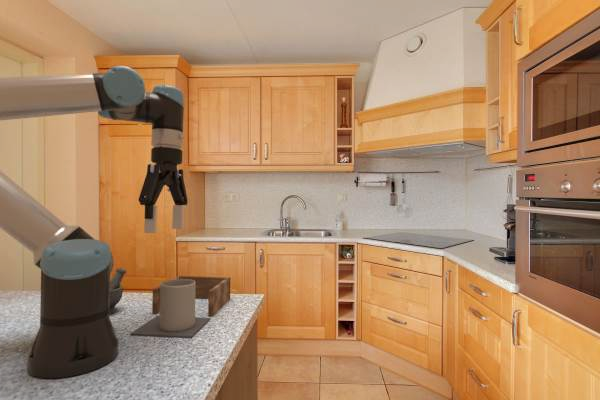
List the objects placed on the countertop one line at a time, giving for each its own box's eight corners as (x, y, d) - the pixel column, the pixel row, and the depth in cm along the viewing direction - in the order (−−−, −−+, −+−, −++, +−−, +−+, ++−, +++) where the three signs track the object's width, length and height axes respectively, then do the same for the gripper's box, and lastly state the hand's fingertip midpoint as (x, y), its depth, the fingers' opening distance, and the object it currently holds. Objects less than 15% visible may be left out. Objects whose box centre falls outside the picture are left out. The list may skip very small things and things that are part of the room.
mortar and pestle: (92, 320, 92) (93, 275, 92) (76, 313, 98) (77, 270, 98) (133, 310, 101) (134, 268, 101) (117, 304, 107) (117, 265, 107)
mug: (201, 325, 89) (202, 282, 89) (169, 334, 82) (170, 288, 82) (178, 314, 97) (178, 275, 97) (147, 322, 90) (148, 279, 91)
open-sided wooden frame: (212, 316, 97) (212, 291, 97) (152, 313, 98) (152, 289, 98) (230, 298, 115) (230, 277, 115) (178, 296, 116) (179, 275, 116)
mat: (191, 338, 82) (191, 336, 82) (130, 335, 83) (130, 333, 83) (210, 319, 95) (210, 317, 95) (157, 317, 96) (157, 315, 96)
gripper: (154, 139, 77) (152, 235, 77) (200, 155, 102) (198, 227, 101) (123, 139, 78) (120, 234, 78) (176, 154, 103) (174, 227, 102)
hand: (165, 230), depth 90 cm, fingers open, 13 cm apart
